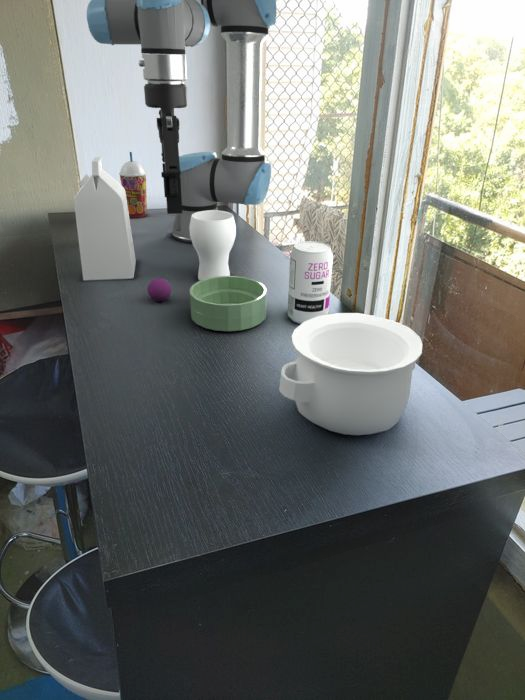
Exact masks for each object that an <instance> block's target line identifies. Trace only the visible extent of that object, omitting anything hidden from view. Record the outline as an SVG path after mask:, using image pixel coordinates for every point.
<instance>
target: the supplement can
mask: <svg viewBox="0 0 525 700" xmlns="http://www.w3.org/2000/svg"><path fill="white" fill-rule="evenodd" d="M333 263H334V254H333V251H332V247H331V245H329V244H327V243H325V242H321V241H315V240H304V241H298V242H296V243H295V244H294V245H293V248H292V250H291V251H290V255H289V273H288V275H289V276H288V292H287V293H288V294H287V295H288V298H287V316H288V317H289V318H290V320H291V321H292V322H293V323H297V324H300V325H301V324H302V323H303V322H305V321H307V320H310V319H312V318H315V317H317V316H321V315H328V314H329V309H330V298H331V285H332V276H333Z"/></svg>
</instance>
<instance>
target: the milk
mask: <svg viewBox="0 0 525 700" xmlns="http://www.w3.org/2000/svg"><path fill="white" fill-rule="evenodd" d="M78 185H79V186H81V187H80V188H79V189H78V191H77V193H76V194H75V195H74V197H73V198H74V200H73V203H74V204H73V206H74V213H75V221H76V222H75V223H76V230H77V239H78V247H79V255H80V264H81V272H82V274H81V275H82V281H106V280H107V281H108V280H128V279H134V277H135V271H136V263H137V260H136V253H135V247H134V240H133V233H132V227H131V219H130V217H129V212H128V205H127V199H126V192H125V189H124V188H123V186H122V185H121V182H119V181H118V180H117V179H115V178H114V177H112V175H111V174H109V173H108V172H107V171H105V169H103V161H102V157H98V156H97V157H96V156H95V157H94V158H93V159H92V161H91V175H90V176H89V175H88V174H85V175H84V176H83V177H82V178H81V180H80V182H79V183H78Z"/></svg>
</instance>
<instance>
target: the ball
mask: <svg viewBox="0 0 525 700" xmlns="http://www.w3.org/2000/svg"><path fill="white" fill-rule="evenodd" d="M146 291H147V295H148V297H150V299H151V300H153V301H154V302H165V301H166V300H168V299H169V297H170V296H171V294H172V287H171V284H170V283H169V282H168V280H167V279H164V278H162V277H157V278H153V279H152V280H150V281H149V283H148V285H147V289H146Z"/></svg>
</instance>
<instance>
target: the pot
mask: <svg viewBox="0 0 525 700" xmlns="http://www.w3.org/2000/svg"><path fill="white" fill-rule="evenodd" d="M291 344H292V346H293V349H294V350H295V352H296V353H297V355H296V360H294V361H290V362H287V363H285V364H284V365H283V366H282V367H281V373H280V380H279V388H278V391H279V392H280V394H281V395H282V396H283V397H285V398H287V399H289V400H292V401H295V405H296V408H297V411H298V413H300V414H301V416H303V417H304V418H305V419H307V420H308V421H310V422H311V423H313V424H315V425H317V426H319V427H321V428H323V429H325V430H328V431H330V432H333V433H337V434H341V435H347V436H348V435H349V436H364V435H365V436H366V435H373V434H374V435H375V434H377V433H382V432H386V431H388V430H390V429H391V428H393V427H394V426H395V425H396V424H397V423H398V422H399V421H400V419H402V416H403V414H404V413H405V410H406V409H407V406H408V405H409V401H410V400H409V399H410V394H411V387H412V378H413V371H414V370H415V369H416V362H417V361H418V360H419V358H421V356H422V354H423V346H424V345H423V342H422V339H421V337H420V336H419V334H417V333H416V332H415V331H414V330H413V329H412V328H411V327H409V326H407V325H405V324H403V323H400V322H398V321H394V320H392V319H388V318H385V317H381V316H377V315H375V314H374V315H372V314H366V313H361V312H335V313H334V312H333V313H328V315H321V316H317V317H315V318H312V319H310V320H307V321H305V322H303V323H302V324H300V325H298V326H297V327H295V329H293V332H292V334H291Z"/></svg>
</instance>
